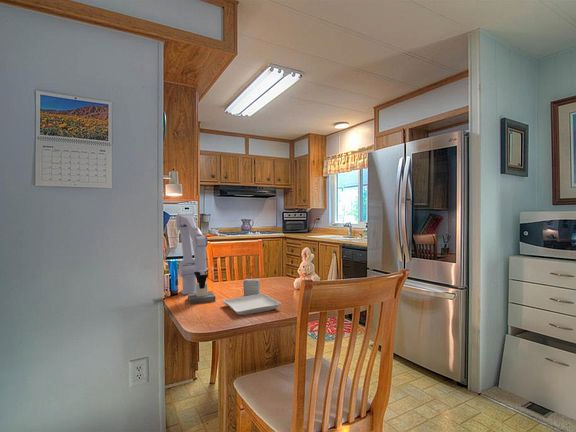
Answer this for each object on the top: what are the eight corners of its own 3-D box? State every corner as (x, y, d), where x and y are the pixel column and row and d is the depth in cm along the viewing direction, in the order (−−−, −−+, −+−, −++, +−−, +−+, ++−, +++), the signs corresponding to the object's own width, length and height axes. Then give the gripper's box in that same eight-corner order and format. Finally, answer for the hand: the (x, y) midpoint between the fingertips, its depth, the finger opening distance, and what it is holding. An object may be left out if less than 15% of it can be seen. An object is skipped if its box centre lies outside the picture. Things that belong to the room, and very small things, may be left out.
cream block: (195, 294, 164) (195, 282, 164) (205, 293, 166) (205, 281, 166) (197, 296, 159) (196, 284, 159) (207, 295, 161) (207, 283, 161)
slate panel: (188, 299, 166) (187, 293, 166) (211, 296, 170) (211, 291, 170) (190, 305, 155) (190, 299, 155) (215, 302, 159) (215, 296, 159)
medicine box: (260, 295, 169) (259, 278, 169) (258, 297, 165) (258, 280, 165) (245, 295, 170) (245, 278, 170) (243, 297, 166) (243, 280, 165)
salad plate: (236, 319, 132) (236, 311, 132) (222, 306, 151) (222, 299, 151) (282, 310, 142) (282, 303, 142) (263, 300, 161) (263, 293, 161)
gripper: (210, 261, 157) (211, 288, 157) (206, 257, 170) (207, 283, 171) (195, 262, 154) (196, 290, 155) (192, 258, 168) (193, 284, 168)
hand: (201, 286), depth 162 cm, fingers open, 7 cm apart
